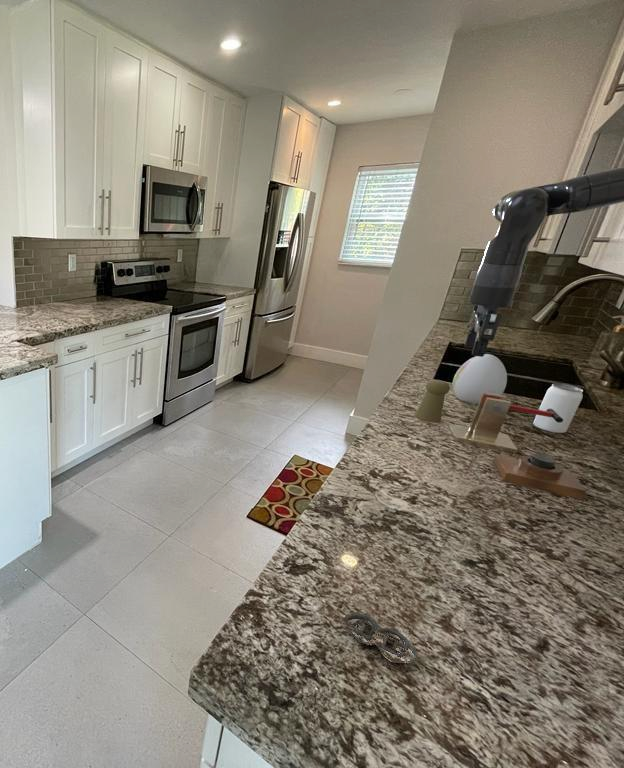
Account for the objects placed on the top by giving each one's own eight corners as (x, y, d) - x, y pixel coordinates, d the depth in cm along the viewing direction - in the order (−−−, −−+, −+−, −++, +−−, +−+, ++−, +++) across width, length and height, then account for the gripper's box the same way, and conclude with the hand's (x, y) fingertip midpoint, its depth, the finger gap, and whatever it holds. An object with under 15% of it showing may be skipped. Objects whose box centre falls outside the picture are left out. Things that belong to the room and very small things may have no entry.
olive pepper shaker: (439, 416, 117) (451, 380, 113) (442, 424, 112) (455, 386, 108) (413, 411, 120) (424, 376, 116) (415, 418, 115) (427, 382, 111)
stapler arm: (551, 415, 98) (555, 406, 97) (560, 425, 93) (565, 416, 92) (482, 402, 104) (485, 394, 103) (487, 411, 99) (491, 402, 98)
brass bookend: (505, 438, 105) (523, 396, 101) (516, 454, 98) (535, 409, 93) (447, 427, 110) (462, 386, 106) (453, 440, 103) (469, 397, 99)
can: (564, 436, 107) (584, 393, 102) (530, 427, 111) (548, 386, 107) (567, 429, 111) (586, 388, 106) (534, 420, 115) (551, 381, 111)
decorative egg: (473, 392, 135) (489, 348, 130) (509, 408, 124) (528, 360, 118) (438, 392, 134) (453, 348, 129) (471, 408, 123) (489, 360, 117)
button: (548, 463, 87) (552, 456, 86) (555, 471, 84) (558, 464, 83) (526, 458, 88) (529, 451, 88) (531, 466, 85) (535, 459, 85)
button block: (564, 478, 88) (571, 462, 87) (581, 500, 81) (590, 483, 80) (492, 462, 94) (498, 446, 92) (502, 481, 87) (509, 465, 85)
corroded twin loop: (348, 610, 56) (350, 604, 56) (418, 648, 51) (421, 643, 51) (337, 635, 53) (339, 629, 52) (412, 679, 48) (414, 673, 47)
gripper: (526, 288, 87) (501, 361, 93) (508, 282, 98) (486, 347, 104) (481, 286, 90) (459, 356, 96) (468, 280, 102) (449, 343, 108)
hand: (473, 351), depth 100 cm, fingers open, 8 cm apart
